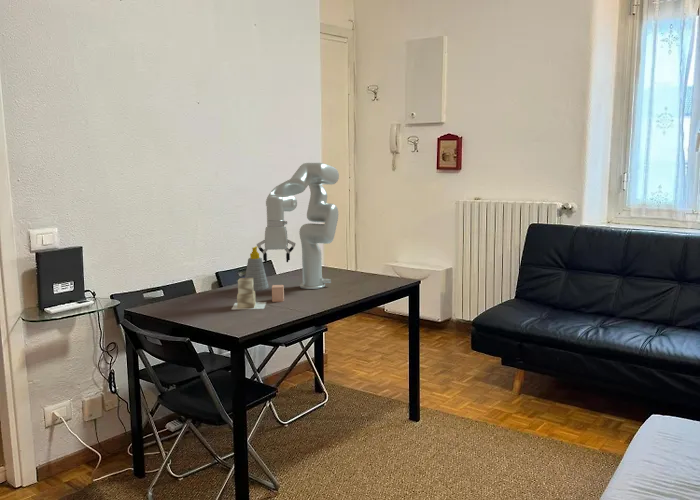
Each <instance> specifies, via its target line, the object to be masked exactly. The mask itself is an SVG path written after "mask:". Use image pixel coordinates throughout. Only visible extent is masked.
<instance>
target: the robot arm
mask: <svg viewBox="0 0 700 500" xmlns="http://www.w3.org/2000/svg"><path fill="white" fill-rule="evenodd" d="M339 177H340V174H339V170H338V169H337V168H336V167H334V166H332V165H329V164H326V163H324V162H303V163H302V164H301V165H300V166H299V167H298V168H297V170H295V173H294V174H293V175H292V176H291V178H290V179H287V180H285V181H284V182H282V183H279V184H278V185H276V186H275V187H274V188H273V189H272V190H271V191H270V192H269V193H268V195H267V197H266V200H265V207H266V226H265V231H264V239H263V240H262V241H259V242H258V243H256V246H257V249H258V251H260V253H262V256H263V257H262V262H263V261H264V263H265V264H267V262H268V253H267V252H268V251H269V250H272V251H273V250H284V251H285V252H286V253H285V256H286V257H285V258H286V259H285V261H286V263H289V261H290V260H291V259H290V258H291V256H290V255H291V252H292V251H294V249H295V246H296V245H297V244H296V242H294V241H292V240H290V239H288V230H287V227H286V226H285V225H288V221H286V220H285V213H284V212H292V211H294V210H295V209H297V206H298V200H297V198H296V197H295V196H296V195H299V194H302V193H304V192H305V190H306V189H307V188H308V187H309V191H310V195H309V197H310V198H309V201H308V205H307V211H306V219H307V220H308V221H309V222H311V223H309V222H308V223H304V224H302V225H301V227H300V228H299V231H298V233H299V239H300V244H301V260H302V261H301V263H302V267H301V268H302V282H301V283H300V284H299V288H301V289H306V290H318V289H323V288H325V286H326V284H332V279H331V278H330V279H329V278H324V277H323V274H322V273H323V272H322V271H323V270H322V264H323V263H322V250H321V247H320V245H319V244H323V245H324V244H327V245H328V244H331V243H332V242H333V241H334V239H335V235H336V232H337V225H338V220H339V208H338V206H337V205H336V204H334V203H329V202H328V203H327V201H328V193H327V191H326V189H325V187H324V186H323V185H331V186H332V185H335V184H336V183H338V181H339V179H340V178H339ZM263 244H264V248H263V247H262V245H263ZM288 244H289V245H291V247H290V248H288V247H289V245H288Z"/></svg>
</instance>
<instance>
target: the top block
mask: <svg viewBox="0 0 700 500" xmlns="http://www.w3.org/2000/svg"><path fill="white" fill-rule="evenodd" d="M284 287H285V286H284V284H272V285H271V301H272V302H274V303H275V302H279V303H280V302H281V303H282V302H284V301H285V290H284V289H285V288H284Z"/></svg>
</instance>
